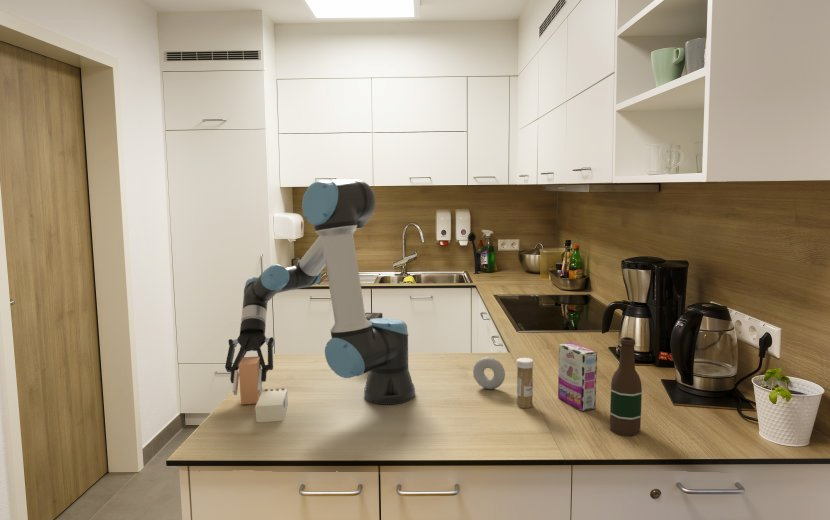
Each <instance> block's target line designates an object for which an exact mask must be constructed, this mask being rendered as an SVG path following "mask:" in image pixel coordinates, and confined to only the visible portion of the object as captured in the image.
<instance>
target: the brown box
mask: <svg viewBox="0 0 830 520" xmlns="http://www.w3.org/2000/svg"><path fill="white" fill-rule="evenodd" d="M259 369H262V367H261V363H260V357H258V356H244V357H243V358H242V360H241V361H240V363H239V369H238V373H239V380H238V381H239V393H240V405H256V404H257V402H258V400H259V397H260V395H261V393H258V390H257V388H258V375H259Z"/></svg>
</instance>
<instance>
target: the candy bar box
mask: <svg viewBox="0 0 830 520" xmlns="http://www.w3.org/2000/svg"><path fill="white" fill-rule="evenodd" d="M597 364H598V351H594V350H592V349H590V348H587V347H584V346H582V345H580V344H578V343H574V342H566V343H561V344H558V376H557V377H558V386H557V391H558V392H557V399H559V400H561V401H562V402H564V403H566V404H568V405H570V406H571V407H573V408H575V409H577V410H579V411H581V412H585V411H591V410H595V409H596V405H597V404H596V403H597V402H596V401H597V400H596V398H597V397H596V395H597V369H598V367H597V366H598V365H597Z"/></svg>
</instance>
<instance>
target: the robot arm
mask: <svg viewBox="0 0 830 520" xmlns="http://www.w3.org/2000/svg"><path fill="white" fill-rule="evenodd" d="M375 194H376V193H375V192H374V189H373V188H372V187H371V186H370V185H369V184H368V183H366V181H363V180H361V179H356V178H349V179H324V180H318V181H315V182H313V183H311V184H310V185H309V186H308V187H307V188H306V191H305V192H304V194H303V196H302V203H301V208H302V213H303V217H304V218H305V219H306V220H307V221H306V222H308V223H309V224H310V225H313V226H314V232H315V233H316V234H317V235H318V237H317V238H316V239H315V240H314V243H312V245H310V247H309V249H308V250H307V251H306V252H305V254H304V255H303V256H302V257H301V259H300V260H298V262H297V263H296V264H295V265H292V266H287V267H284V266H283V265H280V264H277V263H274V264H271V265H270V266H269V267H267V268H266V269H264V270H263V271H262V273H260V275H259V276H254V277H252V278H248V279H247V280H246V282H245V284H244V288H243V301H242V311H241V319H240V321H241V322H240V326H239V327H240V328H239V335H238V337H237V339H231V338H230V339H228V346H229V347H228V352H227V356H226V361H225V366H224V368H225V370H226V372H227V373H230V379H229V380H230V383H231V384H232V392H233V395H234V396H235V395H238V389H239V381H240V380H239V363H240V361H241V360H242V358H243V357H246V354H247V353H248V352H252V351H253V352H256V354H257V357H260V363H261V369H259V375H258V388H257V390H258V393H262V390H263V383H264V382H266V381H267V373H268V371H272V370H274V346H275V339H274V337H267V336H266V322H267V313H268V312H267V311H268V310H267V309H268V303H269V301H270V300H272V299H273V298H274V297H275V296H276V295H277V294H280V293H283V292H288V291H293V290H297V289H302V288H309V287H313V286H316V285H317V284H319V283H320V281H321V278H322V271H323V269H324V268H325V267H326V274H327V279H328V280H327V281H328V286H329V287H328V288H329V294H330V299H331V306H332V314H333V320H334V324H333V326H332V327H331V329H330V335H331V336H330V337H331V338H330V339H329V340H328V341H327V342H326V344H325V345H326V346H325V347H324V356H325V360H326V363H327V364H328V367H329V368H330V369H331V371H333V372H334V374H336V375H337V376H339V377H340V378H343V379H352V378H355V377H360V376H362V375H364V374H365V373H368V374H367V379H366V381H365V386H364V389H363V390H364V391H363V393H364V394H363V395H364V399H365V400H367V401H368V402H370V403H373V404H379V405H396V404H402V403H406V402H409V401H410V400H413V398H415V396H416V386H415V384H414V383H413V379H412V375H411V372H410V371H409V369H410V368H409V332H408V324H407V323H406V322H405V321H403V320H402V319H395V318H385V317H383V318H376V319H370V320H369V321H368V320H367V319H366V317H365V313H366V312H365V311H366V310H365V305H364V300H363V299H364V298H363V297H364V296H363V293H362V292H363V291H362V284H361V279H360V278H361V277H360V271H359V265H358V264H359V263H358V257H357V251H356V247H355V246H356V245H355V239H354V233H355V232H356V231H357V230H360V229H363V228H364V227H365V225H366V224H367V223H368V222H369V221H370V219H371V218H372V216H373V215H374V213H375V210H376V206H377V198H376V195H375ZM265 343H266V346H267V364H266V363H265V359H264V355H263V352H262V349H261V347H262V346H263V345H264V344H265ZM238 345H240V347H239V351H238V353H237V354H236V356H235V351H236V348H237V346H238ZM234 356H235V357H236V358H235V360H234ZM233 361H234V362H233Z"/></svg>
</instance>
